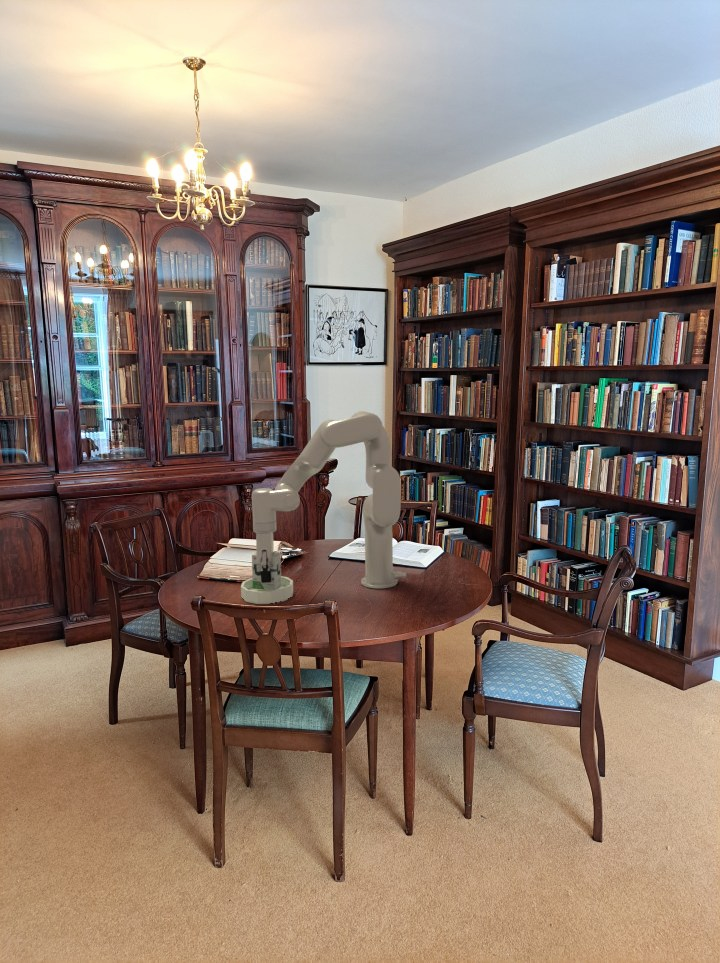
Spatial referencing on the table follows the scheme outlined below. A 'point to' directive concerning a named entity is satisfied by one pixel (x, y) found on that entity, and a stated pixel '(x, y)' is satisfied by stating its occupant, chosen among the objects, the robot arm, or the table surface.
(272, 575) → the ink box
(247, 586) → the dish
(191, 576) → the table surface
